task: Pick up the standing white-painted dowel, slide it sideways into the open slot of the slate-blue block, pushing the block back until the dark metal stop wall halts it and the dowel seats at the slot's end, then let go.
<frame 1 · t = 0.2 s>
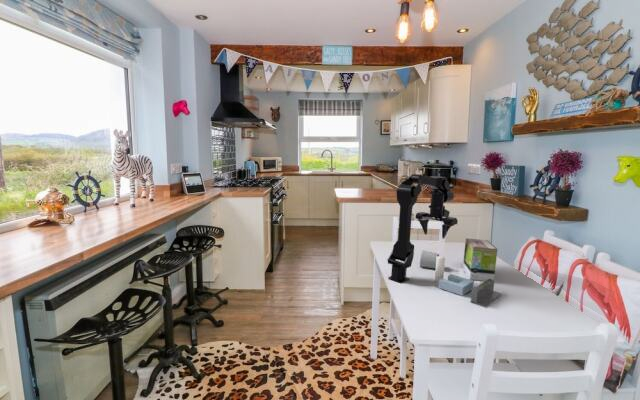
hand: (434, 236, 161), 14 cm above the table, fingers open, 9 cm apart
ceramic mug: (428, 266, 162), on the table
stop wall: (482, 297, 129), on the table
tea box: (477, 275, 152), on the table
dowel: (438, 280, 144), on the table
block: (456, 284, 136), point 2 cm above the table, slide at 0.0 cm
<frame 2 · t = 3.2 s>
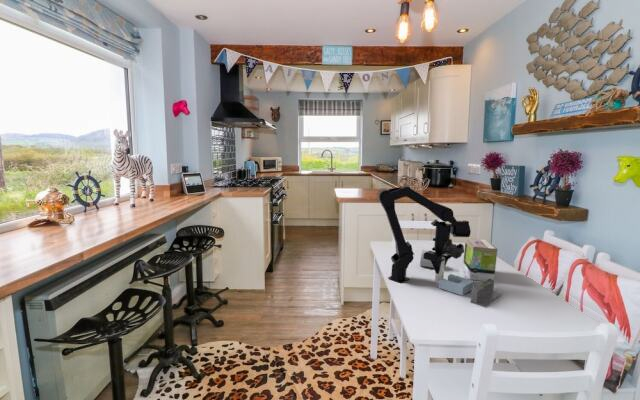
hand: (439, 272, 144), 4 cm above the table, fingers closed on dowel, 3 cm apart
dowel: (438, 280, 144), on the table, touching gripper
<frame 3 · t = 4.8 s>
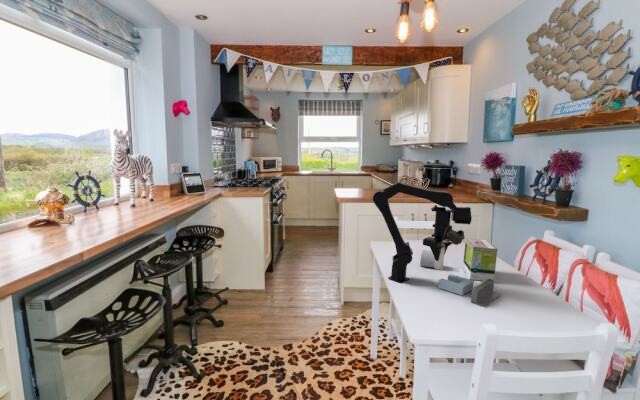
hand: (439, 259, 140), 10 cm above the table, fingers closed on dowel, 3 cm apart
dowel: (438, 268, 140), point 6 cm above the table, touching gripper
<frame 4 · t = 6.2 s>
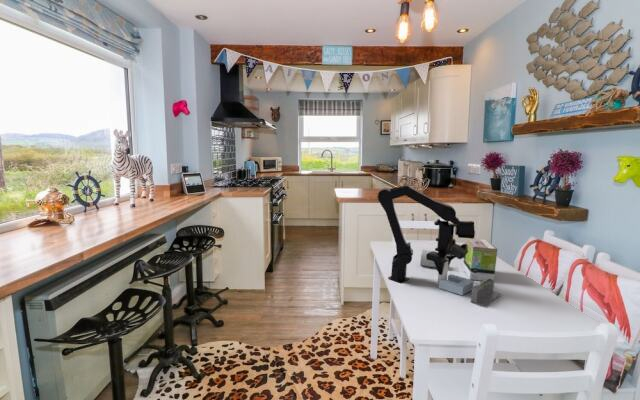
hand: (442, 273, 139), 5 cm above the table, fingers closed on dowel, 3 cm apart
dowel: (442, 281, 140), point 1 cm above the table, touching gripper
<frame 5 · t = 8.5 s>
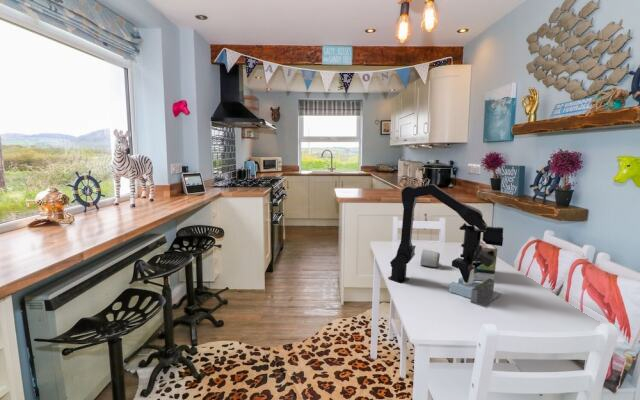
hand: (468, 281, 132), 5 cm above the table, fingers closed on dowel, 3 cm apart
dowel: (467, 289, 133), point 1 cm above the table, touching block, gripper
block: (467, 287, 132), point 2 cm above the table, slide at 4.4 cm, touching dowel
when the fingers open (4 cm above the table, at t = 9.6 s): dowel stays where it is, resting in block.
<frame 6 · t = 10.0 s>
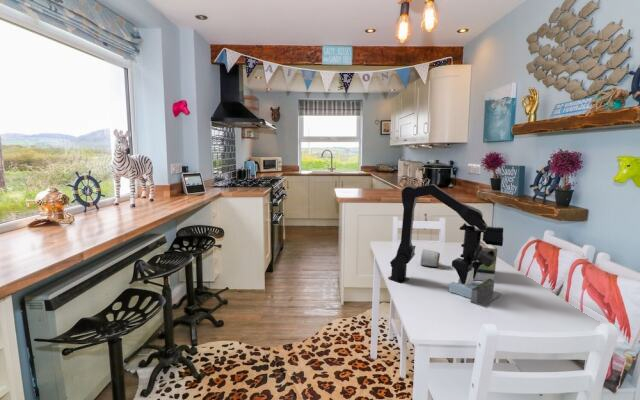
hand: (468, 281, 132), 4 cm above the table, fingers open, 8 cm apart
dowel: (466, 292, 133), resting in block
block: (467, 287, 132), point 2 cm above the table, slide at 4.4 cm
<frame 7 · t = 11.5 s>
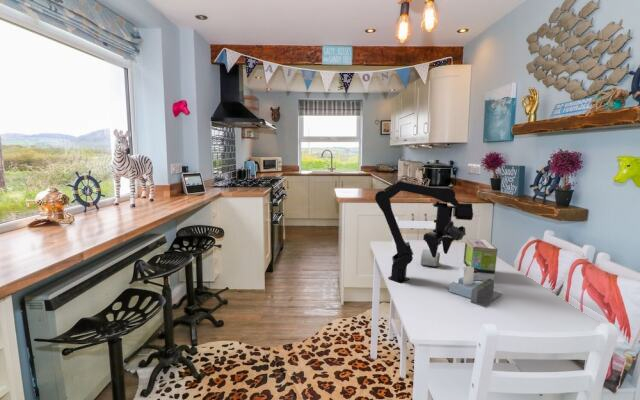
hand: (439, 255, 140), 12 cm above the table, fingers open, 9 cm apart
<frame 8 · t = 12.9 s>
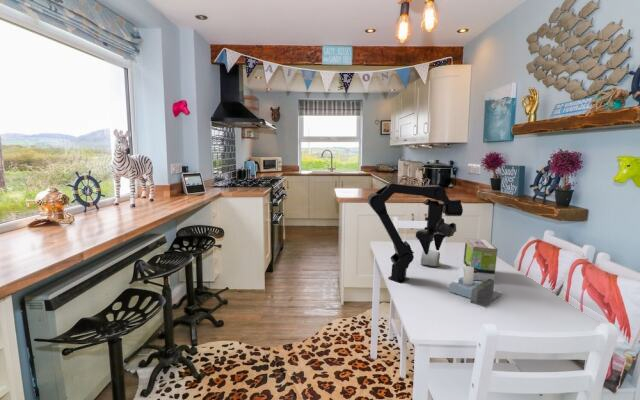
hand: (432, 252, 143), 12 cm above the table, fingers open, 9 cm apart
at the end: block slide at 4.4 cm; dowel 0.2 cm off-centre on the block, point 0.0 cm above the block's base; dowel tilted 0° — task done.
